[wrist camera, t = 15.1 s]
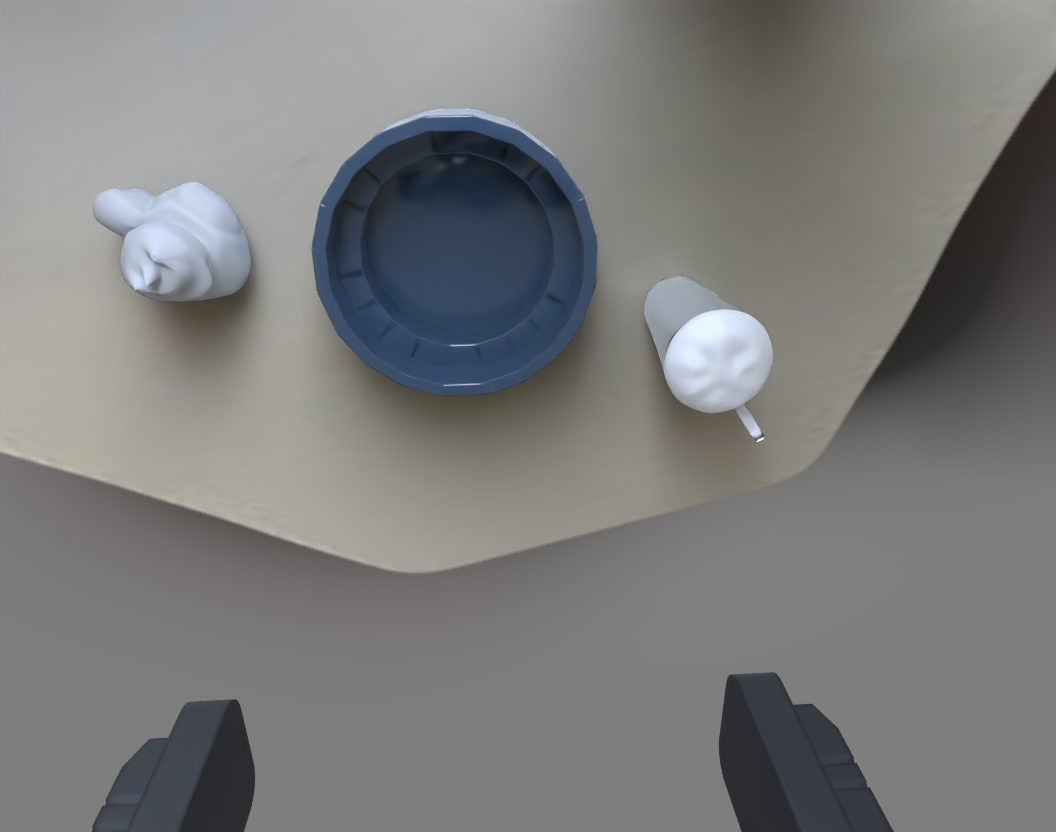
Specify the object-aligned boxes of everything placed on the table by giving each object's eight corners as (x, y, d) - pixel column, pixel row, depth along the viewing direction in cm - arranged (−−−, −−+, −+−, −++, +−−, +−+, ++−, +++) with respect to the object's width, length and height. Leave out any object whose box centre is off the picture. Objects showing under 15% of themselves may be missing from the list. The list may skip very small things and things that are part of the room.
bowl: (318, 110, 34) (293, 118, 30) (584, 105, 35) (600, 112, 30) (349, 360, 39) (331, 401, 35) (580, 352, 40) (593, 391, 35)
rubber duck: (229, 314, 38) (170, 373, 31) (102, 233, 36) (7, 277, 29) (285, 226, 36) (237, 267, 29) (155, 137, 34) (69, 157, 27)
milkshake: (658, 375, 41) (709, 465, 32) (615, 289, 39) (657, 360, 30) (736, 335, 40) (812, 416, 31) (697, 246, 38) (766, 304, 29)
